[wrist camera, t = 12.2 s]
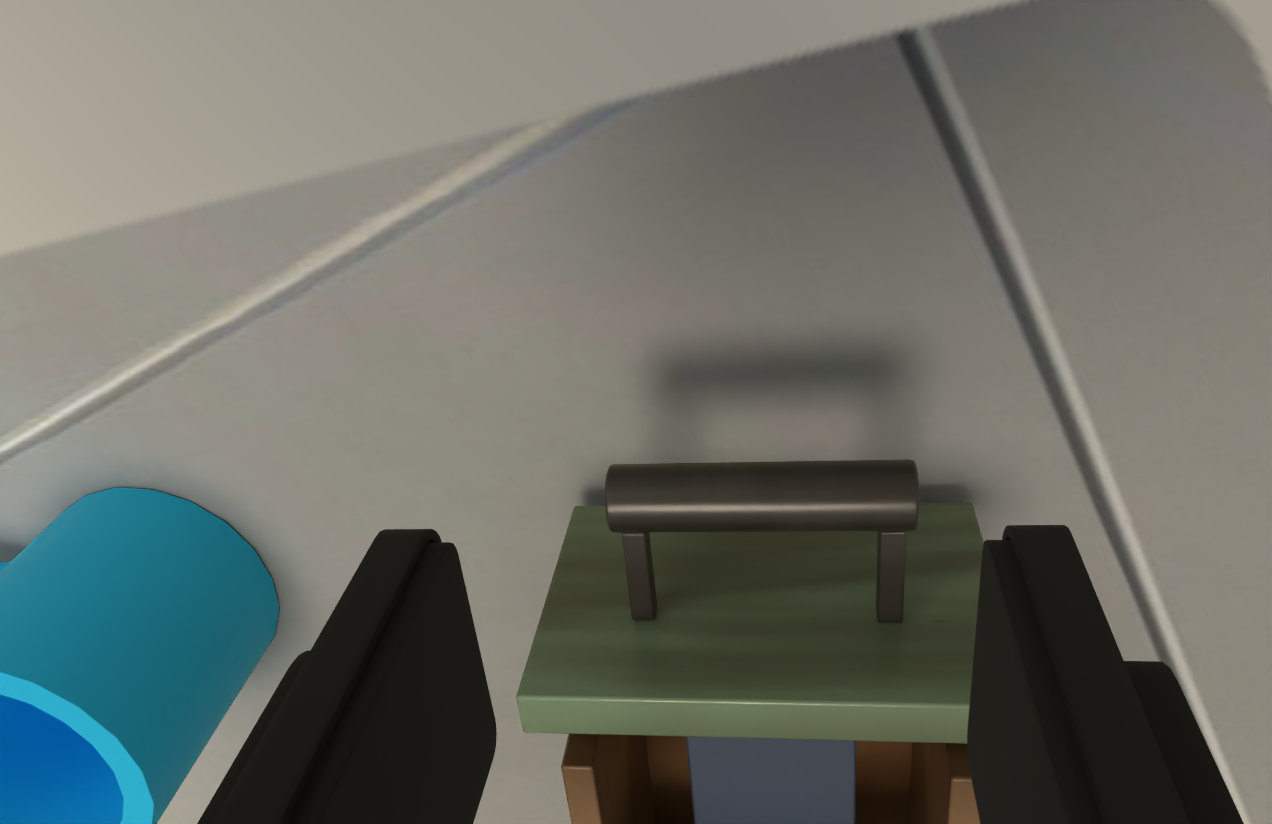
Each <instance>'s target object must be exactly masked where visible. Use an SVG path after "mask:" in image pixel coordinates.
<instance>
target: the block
mask: <svg viewBox="0 0 1272 824" xmlns="http://www.w3.org/2000/svg"><path fill="white" fill-rule="evenodd" d="M686 743H687V753H688V763H689V773H690V783H691V793H692V803H693V813H694V823H695V824H855V818H856V741H841V740H802V739H762V738H722V737H686Z"/></svg>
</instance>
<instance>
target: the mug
mask: <svg viewBox="0 0 1272 824" xmlns="http://www.w3.org/2000/svg"><path fill="white" fill-rule="evenodd" d="M279 609H280V608H279V604H278V599H277V595H276V591H275V587H274V583H273V579H272V577H271V576H270V574H269V572H268V571H267V569H266V568H265V566H264V564H263V563H262V561H261V559H260V558H259V556H258V555H257V553H256V551H255V550H254V549H253V548H252V547H251V546H250V545H249V544H248V543H247V542H246V541H245V540H244V539H243V538H242V537H241V536H240V535H239V534H238V533H237V532H236V531H235V530H234V529H232V528H231V527H230V526H229V525H228V524H227V523H226V522H224V521H223V520H221V519H219V518H218V517H216V516H214V515H213V514H211V513H209V512H208V511H206V510H204V509H203V508H201V507H199V506H198V505H196V504H194V503H192V502H190V501H187V500H184V499H181V498H178V497H175V496H172V495H169V494H165V493H162V492H159V491H156V490H152V489H135V488H119V487H116V488H112V489H108V490H104V491H100V492H96V493H92V494H88V495H85V496H84V497H82V498H81V499H80V500H78V501H77V502H76V503H74V504H73V505H72V506H70V507H69V508H68V509H66V510H65V511H64V512H62V513H61V514H60V515H59V516H58V517H57V518H56V519H55V520H54V521H53V522H52V523H51V524H50V525H49V526H48V527H47V528H46V529H44V530H43V531H42V532H41V533H40V534H39V535H38V536H37V537H36V538H35V539H34V540H33V541H32V542H31V543H30V544H29V545H28V546H27V547H26V548H24V549H23V550H22V551H21V552H20V553H19V554H18V555H17V556H16V557H15V558H14V559H13V560H12V561H11V562H0V824H157V822H158V820H159V819H160V817H161V816H162V814H163V812H164V811H165V809H166V808H167V806H168V805H169V803H170V801H171V800H172V798H173V797H174V795H175V793H176V792H177V790H178V789H179V787H180V785H181V784H182V782H183V781H184V779H185V777H186V776H187V774H188V773H189V771H190V770H191V768H192V766H193V765H194V763H195V762H196V760H197V758H198V757H199V755H200V754H201V752H202V750H203V749H204V747H205V746H206V744H207V742H208V741H209V739H210V738H211V736H212V735H213V733H214V731H215V730H216V728H217V727H218V725H219V723H220V722H221V720H222V719H223V717H224V715H225V714H226V712H227V711H228V709H229V707H230V706H231V704H232V703H233V701H234V700H235V698H236V696H237V695H238V693H239V692H240V690H241V688H242V687H243V685H244V684H245V682H246V680H247V679H248V677H249V676H250V674H251V673H252V671H253V669H254V668H255V666H256V665H257V663H258V661H259V660H260V658H261V657H262V655H263V653H264V652H265V650H266V649H267V647H268V645H269V644H270V642H271V641H272V639H273V638H274V636H275V634H276V628H277V622H278V615H279Z"/></svg>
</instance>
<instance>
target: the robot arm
mask: <svg viewBox="0 0 1272 824" xmlns="http://www.w3.org/2000/svg"><path fill="white" fill-rule="evenodd" d="M495 747H496V722H495V717H494V712H493V708H492V703H491V699H490V694H489V690H488V685H487V681H486V676H485V672H484V667H483V663H482V659H481V654H480V650H479V645H478V641H477V636H476V632H475V627H474V623H473V618H472V614H471V610H470V605H469V601H468V596H467V592H466V587H465V583H464V578H463V574H462V569H461V565H460V561H459V556H458V552H457V549H456V547H455V546H454V544H453V543H442V542H441V539H440V536H439V535H438V533H437V532H436V531H435V530H432V529H393V530H383V531H380V532H379V534H378V535H377V536H376V537H375V539H374V541H373V543H372V544H371V546H370V548H369V550H368V551H367V553H366V555H365V557H364V558H363V560H362V562H361V564H360V565H359V567H358V569H357V571H356V572H355V574H354V576H353V578H352V579H351V581H350V583H349V585H348V586H347V588H346V590H345V592H344V593H343V595H342V597H341V599H340V600H339V602H338V604H337V606H336V607H335V609H334V611H333V613H332V614H331V616H330V618H329V620H328V621H327V623H326V625H325V626H324V628H323V630H322V632H321V633H320V635H319V637H318V639H317V640H316V642H315V644H314V646H313V647H312V649H311V651H305V652H304V653H302V654H300V655H299V656H298V657H297V658H296V659H295V660H294V662H293V663H292V664H291V666H290V667H289V668H288V670H287V672H286V674H285V675H284V677H283V679H282V680H281V682H280V684H279V686H278V687H277V689H276V691H275V692H274V694H273V696H272V697H271V699H270V701H269V703H268V704H267V706H266V708H265V709H264V711H263V713H262V714H261V716H260V718H259V720H258V721H257V723H256V725H255V726H254V728H253V730H252V732H251V733H250V735H249V737H248V738H247V740H246V742H245V743H244V745H243V747H242V749H241V750H240V752H239V754H238V755H237V757H236V759H235V760H234V762H233V764H232V766H231V767H230V769H229V771H228V772H227V774H226V776H225V778H224V779H223V781H222V783H221V784H220V786H219V788H218V789H217V791H216V793H215V795H214V796H213V798H212V800H211V801H210V803H209V805H208V806H207V808H206V810H205V812H204V813H203V815H202V817H201V818H200V820H199V822H198V824H473V822H474V819H475V816H476V812H477V809H478V806H479V803H480V799H481V796H482V793H483V790H484V787H485V783H486V780H487V777H488V774H489V770H490V767H491V764H492V761H493V757H494V753H495ZM967 750H968V761H969V769H970V774H971V779H972V784H973V789H974V794H975V799H976V805H977V810H978V815H979V820H980V824H1244V823H1243V821H1242V819H1241V817H1240V815H1239V813H1238V810H1237V808H1236V806H1235V804H1234V802H1233V800H1232V797H1231V795H1230V793H1229V791H1228V789H1227V787H1226V785H1225V782H1224V780H1223V778H1222V776H1221V774H1220V772H1219V769H1218V767H1217V765H1216V763H1215V761H1214V759H1213V756H1212V754H1211V752H1210V750H1209V748H1208V746H1207V744H1206V741H1205V739H1204V737H1203V735H1202V733H1201V731H1200V728H1199V726H1198V724H1197V722H1196V720H1195V718H1194V715H1193V713H1192V711H1191V709H1190V707H1189V705H1188V703H1187V700H1186V698H1185V696H1184V694H1183V692H1182V690H1181V687H1180V685H1179V683H1178V681H1177V679H1176V678H1175V676H1174V674H1173V673H1172V671H1171V669H1170V668H1169V667H1168V666H1167V665H1166V664H1164V663H1163V662H1148V661H1123V658H1122V656H1121V653H1120V651H1119V649H1118V646H1117V644H1116V641H1115V639H1114V636H1113V634H1112V632H1111V629H1110V627H1109V624H1108V622H1107V619H1106V617H1105V614H1104V612H1103V610H1102V607H1101V605H1100V602H1099V600H1098V597H1097V595H1096V592H1095V590H1094V588H1093V585H1092V583H1091V580H1090V578H1089V575H1088V573H1087V571H1086V568H1085V566H1084V563H1083V561H1082V558H1081V556H1080V553H1079V551H1078V549H1077V546H1076V544H1075V541H1074V539H1073V536H1072V534H1071V532H1070V530H1069V528H1068V527H1066V526H1065V525H1017V526H1007V527H1005V530H1004V533H1003V538H1002V540H986V541H985V542H984V545H983V551H982V561H981V573H980V585H979V597H978V609H977V622H976V634H975V646H974V658H973V670H972V682H971V694H970V706H969V718H968V730H967Z"/></svg>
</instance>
